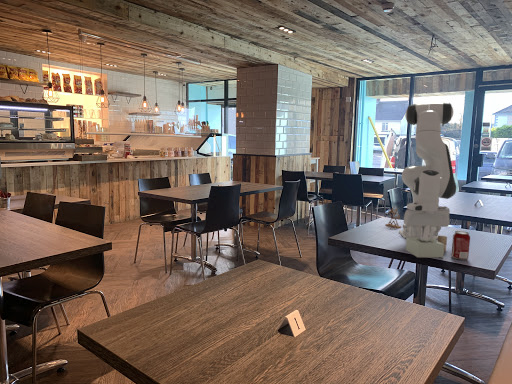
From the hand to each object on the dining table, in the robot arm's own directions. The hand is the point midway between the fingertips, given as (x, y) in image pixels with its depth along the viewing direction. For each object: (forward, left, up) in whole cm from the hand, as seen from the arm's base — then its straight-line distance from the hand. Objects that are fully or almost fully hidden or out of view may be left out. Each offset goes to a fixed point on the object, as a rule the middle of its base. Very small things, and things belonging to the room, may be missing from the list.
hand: (425, 235), depth 181 cm
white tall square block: (0, 0, -8) cm, 9 cm away
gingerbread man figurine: (-57, +9, -9) cm, 58 cm away
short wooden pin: (-5, +11, -8) cm, 15 cm away
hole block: (0, 0, -8) cm, 9 cm away
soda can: (+7, +13, -9) cm, 17 cm away
